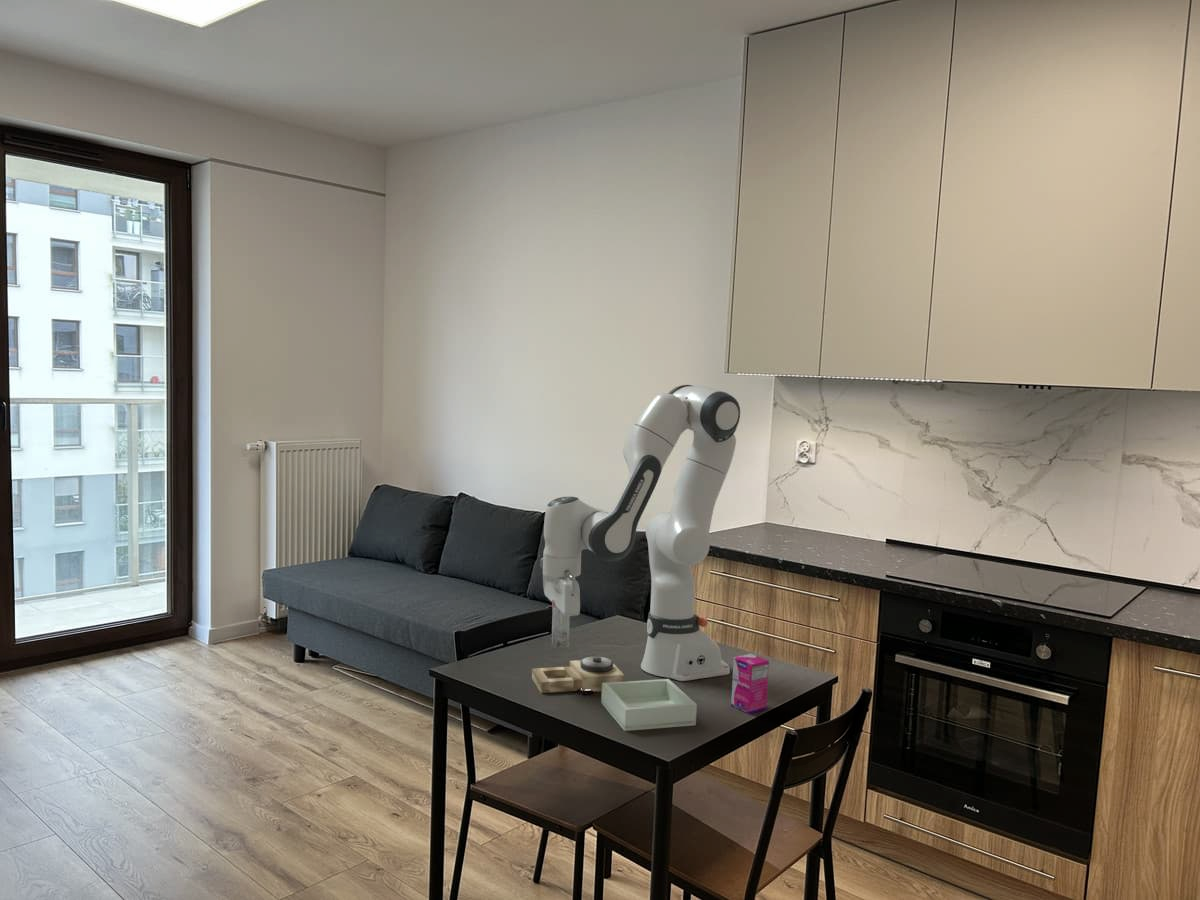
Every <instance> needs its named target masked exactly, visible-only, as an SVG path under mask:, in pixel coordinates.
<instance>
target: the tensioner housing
mask: <svg viewBox="0 0 1200 900" xmlns="http://www.w3.org/2000/svg"><path fill="white" fill-rule="evenodd" d="M625 677H626V675H625V673H624V672H622V671H621V670H620V669H619V668H618V667H617V665H616V664H615V663H614V661H612V660H611V659H610V658H607V657H603V656H588V657H584V658H582V659H580V660H579V659H578V660H576V659H575V660H569V666H556V667H555V666H554V667H537V668H534V667H533V668H531V680H532V681H533V683H534V684H535V685H536V687H537V689H538V690H539V692H540V693H541V694H544V693H545V694H548V693H559V692H561V693H562V692H564V693H565V692H575V691H576V692H577V690H579V689H580V688H582V690H583V691H584V690H585V689H591V690H592V691H593V692H602V683H611V682H625ZM582 690H581V691H582ZM579 691H580V690H579Z"/></svg>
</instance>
